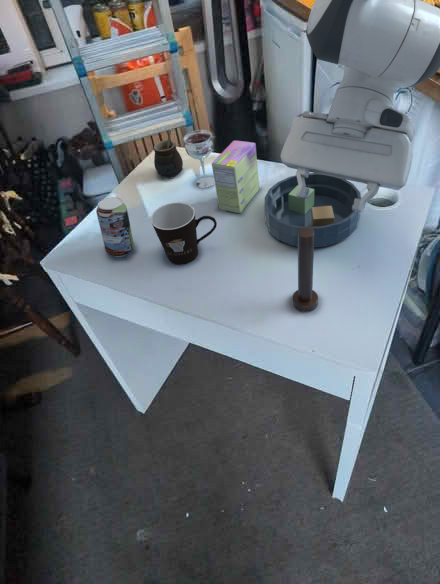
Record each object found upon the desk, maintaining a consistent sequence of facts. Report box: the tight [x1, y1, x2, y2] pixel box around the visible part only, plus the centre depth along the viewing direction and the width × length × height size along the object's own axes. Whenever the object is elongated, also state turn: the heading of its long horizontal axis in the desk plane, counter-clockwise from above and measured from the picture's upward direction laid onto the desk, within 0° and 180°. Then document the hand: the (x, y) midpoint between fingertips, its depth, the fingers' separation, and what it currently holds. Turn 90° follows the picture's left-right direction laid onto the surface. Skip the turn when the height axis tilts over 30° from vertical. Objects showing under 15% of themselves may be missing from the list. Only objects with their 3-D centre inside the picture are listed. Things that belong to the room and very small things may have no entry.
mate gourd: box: [152, 129, 184, 179], centre depth 109 cm, size 7×8×10 cm
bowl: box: [263, 172, 362, 248], centre depth 90 cm, size 19×19×6 cm
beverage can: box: [95, 196, 135, 258], centre depth 89 cm, size 6×7×12 cm
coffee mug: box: [150, 201, 218, 266], centre depth 86 cm, size 12×9×10 cm
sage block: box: [288, 185, 314, 215], centre depth 93 cm, size 4×4×4 cm
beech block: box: [311, 206, 334, 227], centre depth 87 cm, size 4×4×4 cm
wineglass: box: [182, 129, 215, 189], centre depth 103 cm, size 7×7×12 cm
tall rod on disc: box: [291, 227, 319, 313], centre depth 71 cm, size 4×4×16 cm
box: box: [211, 140, 260, 214], centre depth 97 cm, size 10×6×12 cm, turn 152°
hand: (328, 204), depth 70 cm, fingers open, 8 cm apart
